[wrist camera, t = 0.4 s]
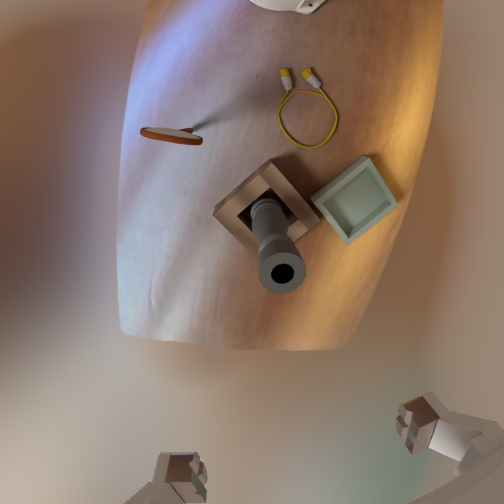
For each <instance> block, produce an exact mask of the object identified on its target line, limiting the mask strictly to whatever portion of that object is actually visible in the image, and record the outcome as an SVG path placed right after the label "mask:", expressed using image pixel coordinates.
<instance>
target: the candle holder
mask: <svg viewBox="0 0 504 504" xmlns="http://www.w3.org/2000/svg"><path fill="white" fill-rule="evenodd" d="M250 215H251V220H252V232H253V234H254V235H255V237H256V238H257V239H258V241H259V242H260V244H259V247H258V256H259V257H258V259H257V261H258V271H259V280H260V282H261V283H262V285H263V287H264V288H266V289H267V290H269V291H270V292H274V293H278V294H281V293H289V292H291V291H293V290H295V289H297V288H298V287H299V286H300V285H301V284H302V283H303V280H304V278H305V276H306V267H305V264H304V262H303V259H302V257H301V255H300V253H299V251H298V249H297V248H296V247H295V245H294V243H293V241H292V239H291V238H290V237H288V236H287V233H288V220H287V218H286V216H285V214H283V209H282V206H281V204H280V202H279V200H278V199H277V198H276V197H275V196H273V195H270V194H261V195H260V196H259V197H258V198H257V199H255V200H254V201H253V202H252V203H251V205H250Z"/></svg>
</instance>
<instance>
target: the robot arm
mask: <svg viewBox="0 0 504 504" xmlns="http://www.w3.org/2000/svg"><path fill="white" fill-rule="evenodd" d="M250 1H251V2H253V3H254V4H256V5H258V6H260V7H263V8H266V9H270V10H276V11H296V12H299V13H302V14H311V13H313V12H314V11H315V10H316V9H317V8H318V7H319V6H320V5H321V4H322V3H323V2H324V1H325V0H250ZM309 4H311V5H312V7H311V6H309ZM398 413H399V416H398V417H397V419H396V429H397V431H398V434H399V435H400V437H401V438H404V439H406V442H405V445H406V447H407V448H408V450H409V451H410V453H411V454H413V453H415V452H418V451H420V450H422V449H424V448H426V447H428V446H429V448H431V449H433V450H436V451H438V452H440V453H442V454H444V455H446V456H449V457H451V458H453V459H456V460H458V461H460V463H459V465H458V467H457V468H456V470H455V475H456V476H457V477H456V478H454V479H453V480H451V481H449V482H448V483H446V484H444V485H442V486H441V487H439V488H437V489H435V490H433V491H431V492H430V493H428V494H426V495H424V496H422V497H420V498H418V499H416V500H414V501H412V502H410V503H407V504H504V430H503V429H502V427H500V425H499V424H498V423H497V422H495V421H491V420H486V419H482V418H478V417H474V416H470V415H465V414H462V413H458V412H455V411H453V412H450V411H449V410H448V409H447V408H446V407H445V406H444V405H443V403H442V402H441V401H440V400H439V399H438V398H437V397H436V396H435V394H434V393H433V392H428V393H426V394H424V395H422V396H420V397H417V398H415V399H412V400H410V401H408V402H406V403H403V404H401V405H400V406H399V407H398ZM199 460H200V456H199V454H198V453H197V452H161V453H160V454H159V455H158V459H157V464H156V468H155V472H154V476H153V481H152V482H148V483H147V484H146V485H145V486H144V487H143V488H142V489H140V490H139V491H138V492H137V493H136V494H135V495H134V496H132V497H131V498H130V499H129V500H128V501H126V502H125V503H124V504H186V503H206V494H207V490H206V489H205V487H204V485H205V484H206V483H207V470H206V468H205V465H204V463H203V462H201V461H199Z"/></svg>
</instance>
